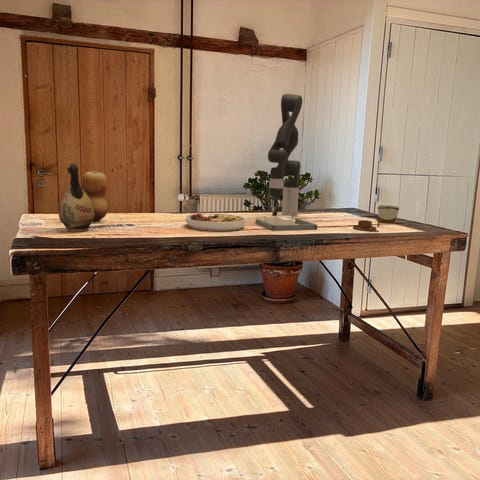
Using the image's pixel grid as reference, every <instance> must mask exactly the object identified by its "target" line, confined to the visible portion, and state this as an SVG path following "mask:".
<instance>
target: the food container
mask: <svg viewBox="0 0 480 480" xmlns="http://www.w3.org/2000/svg"><path fill="white" fill-rule="evenodd" d="M399 207H400V206H397V205H386V204H380V205H378V206H377V211H378V212H377V213H378V216H377V217H381V222H379V224H387V225H396V223H397V219H398V218H397V217H398V213H399V211H400V208H399Z"/></svg>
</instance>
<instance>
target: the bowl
mask: <svg viewBox="0 0 480 480" xmlns="http://www.w3.org/2000/svg"><path fill="white" fill-rule="evenodd" d="M246 220H247V219H246V218H245V217H243V216H239V215H234V214H225V213H201V212H198V213H193V214H190V215H187V216H185V223H186V225H187V226H189V227H190V228H192V229H194V230H198V229H199V231H206V230H208V231H207V232H229V231H230V230H233V231H238V230H240V229H242V228H243V227H244V226H245V224H246V222H247V221H246ZM237 229H238V230H237ZM230 232H231V231H230Z"/></svg>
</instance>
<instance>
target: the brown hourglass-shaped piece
mask: <svg viewBox="0 0 480 480" xmlns="http://www.w3.org/2000/svg"><path fill="white" fill-rule="evenodd" d="M107 183H108V181H107V176H106V175H105V174H104V173H103V172H99V171H86V172H85V173H84V174H83V176H82V180H81V187H82V188H83V189H84V191H85V192H86V193H87V195H88V196H89V198H90V200H91V201H92V204H93V207H94V212H95V216H94V220H93V222H100V221H101V220H103V219H104V217H106V216H107V213H108V203H107V200H106V194H107V189H108V188H107Z"/></svg>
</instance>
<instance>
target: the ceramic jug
mask: <svg viewBox="0 0 480 480" xmlns="http://www.w3.org/2000/svg"><path fill="white" fill-rule="evenodd" d="M67 173H68V174H69V175H70V184H69V185H68V186H67V189H66V190H65V191H64V194H63V195H62V197H61V199H60V201H59V205H58V211H57V212H58V213H57V215H58V217H59V221H60V223H62V224H63V225H64V227H65V228H66V229H67V231H68V232H75V233H76V232H77V233H78V232H84V231H90V226H91V225H92V224H93V222H94V221H93V220H94V216H95V212H94V207H93V204H92V201H91V200H90V198H89V196H88V195H87V193H86V192H85V191H84V189H83V188H82V185H80V182H79V167H78V166H77V164H76V163H71V164H69V166H68V167H67Z"/></svg>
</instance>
